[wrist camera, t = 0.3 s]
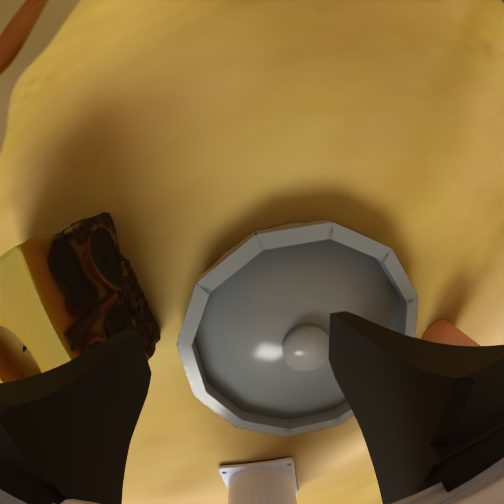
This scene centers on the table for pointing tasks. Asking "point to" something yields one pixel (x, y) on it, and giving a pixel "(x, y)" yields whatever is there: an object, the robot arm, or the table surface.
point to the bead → (447, 334)
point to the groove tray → (287, 323)
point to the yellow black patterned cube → (67, 299)
